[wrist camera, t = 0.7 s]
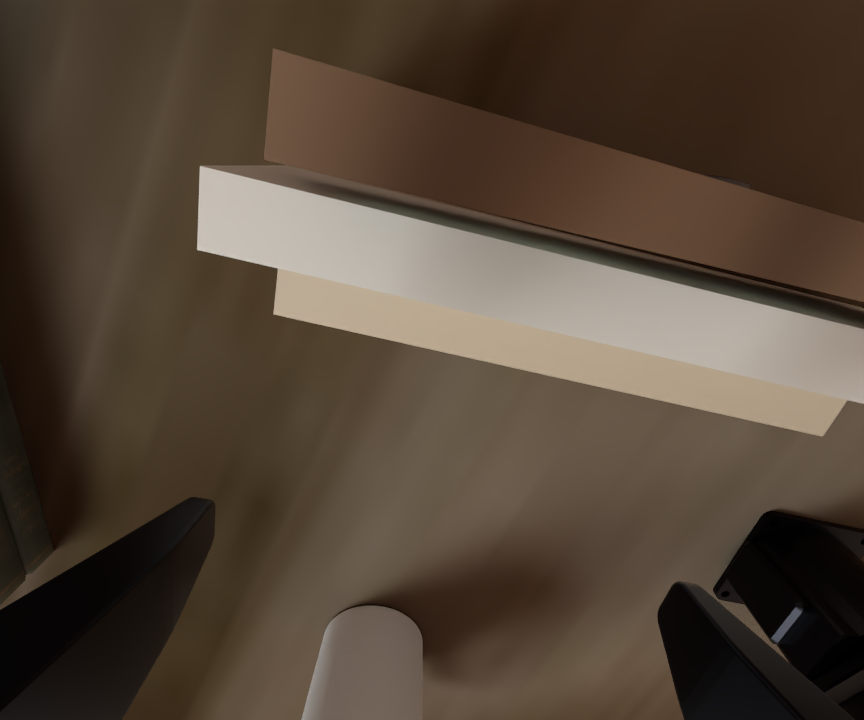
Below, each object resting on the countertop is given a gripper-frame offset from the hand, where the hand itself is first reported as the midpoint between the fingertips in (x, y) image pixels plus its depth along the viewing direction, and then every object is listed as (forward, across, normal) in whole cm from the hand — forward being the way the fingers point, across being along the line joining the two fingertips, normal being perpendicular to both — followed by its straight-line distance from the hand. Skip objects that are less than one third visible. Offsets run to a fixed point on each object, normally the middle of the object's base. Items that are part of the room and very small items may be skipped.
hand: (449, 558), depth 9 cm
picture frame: (+7, -6, -7) cm, 11 cm away
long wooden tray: (+13, -6, -4) cm, 15 cm away
